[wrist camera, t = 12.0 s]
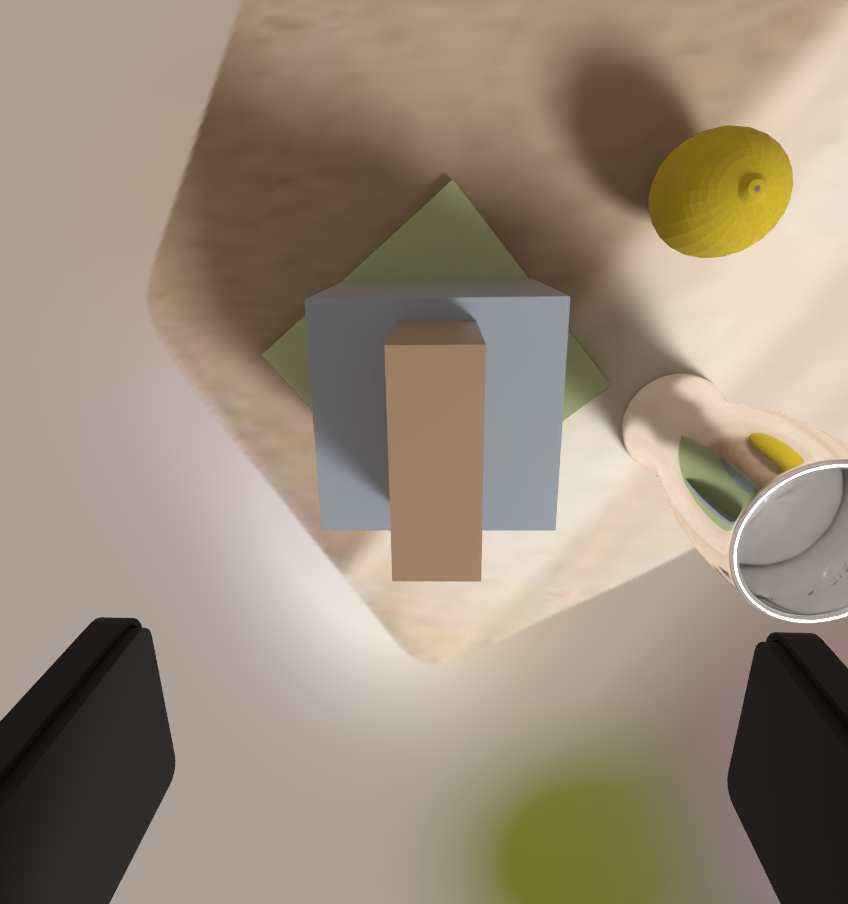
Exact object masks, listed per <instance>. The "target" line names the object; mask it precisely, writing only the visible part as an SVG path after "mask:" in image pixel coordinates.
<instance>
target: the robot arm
mask: <svg viewBox="0 0 848 904" xmlns="http://www.w3.org/2000/svg"><path fill="white" fill-rule="evenodd" d="M174 770H175V754H174V749H173V743H172V738H171V733H170V728H169V723H168V717H167V712H166V708H165V702H164V697H163V692H162V686H161V682H160V677H159V671H158V665H157V660H156V655H155V650H154V645H153V640H152V635H151V632H150V631H149V629H147V628H142V626H141V624H140V622H139V621H138V620H137V619H135V618H104V617H101V618H97V619H95V620H94V621H93V622H91V623H90V624H89V626H88V627H87V628H86V629H85V630H84V631H83V632H82V633H81V634H80V635H79V636H78V638H77V639H76V640H75V641H74V642H73V643H72V644H71V645H70V646H69V647H68V649H66V651H65V652H64V653H63V654H62V655H61V656H60V657H59V658H58V659H57V660H56V662H55V663H54V664H53V665H52V666H51V667H50V668H49V669H48V670H47V671H46V673H45V674H44V675H43V676H42V677H41V678H40V679H39V680H38V681H37V682H36V683H35V684H34V685H33V687H32V688H31V689H30V690H29V691H28V692H27V693H26V694H25V695H24V696H23V697H22V698H21V700H20V701H19V702H18V703H17V704H16V705H15V706H14V707H13V708H12V709H11V710H10V712H9V713H8V714H7V715H6V716H5V717H4V718H3V719H2V720H1V721H0V904H109V903H110V901H111V899H112V897H113V895H114V893H115V891H116V889H117V887H118V885H119V883H120V881H121V880H122V878H123V876H124V874H125V872H126V870H127V868H128V866H129V864H130V862H131V860H132V858H133V856H134V854H135V852H136V850H137V848H138V846H139V844H140V842H141V840H142V838H143V836H144V834H145V832H146V831H147V828H148V827H149V824H150V823H151V821H152V819H153V817H154V815H155V813H156V811H157V809H158V807H159V805H160V803H161V801H162V799H163V797H164V795H165V793H166V791H167V789H168V787H169V785H170V783H171V781H172V778H173V774H174ZM727 781H728V790H729V795H730V799H731V801H732V804H733V806H734V808H735V810H736V812H737V814H738V816H739V818H740V820H741V822H742V825H743V827H744V829H745V831H746V832H747V835H748V837H749V839H750V841H751V843H752V845H753V847H754V849H755V851H756V854H757V855H758V858H759V860H760V862H761V864H762V866H763V868H764V870H765V872H766V874H767V876H768V878H769V881H770V883H771V884H772V887H773V889H774V891H775V893H776V895H777V897H778V899H779V901H780V903H781V904H848V668H847V667H846V666H845V665H844V664H843V663H842V661H841V660H839V658H838V657H837V656H836V655H835V653H834V652H833V651H832V650H831V649H830V648H829V647H828V646H827V645H826V644H825V642H824V641H823V640H822V639H821V638H820V637H818V636H817V635H816V634H812V633H782V632H781V633H780V632H779V633H778V632H774V633H771V634H770V635H769V636H768V637H767V640H766V642H760V643H758V645H757V646H756V648H755V651H754V656H753V661H752V666H751V670H750V675H749V680H748V684H747V689H746V693H745V698H744V702H743V707H742V712H741V716H740V721H739V726H738V730H737V735H736V739H735V744H734V749H733V753H732V758H731V762H730V767H729V772H728V780H727Z"/></svg>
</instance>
